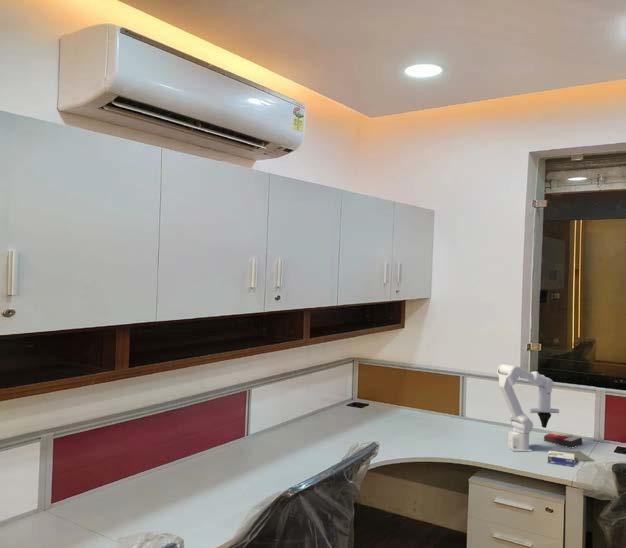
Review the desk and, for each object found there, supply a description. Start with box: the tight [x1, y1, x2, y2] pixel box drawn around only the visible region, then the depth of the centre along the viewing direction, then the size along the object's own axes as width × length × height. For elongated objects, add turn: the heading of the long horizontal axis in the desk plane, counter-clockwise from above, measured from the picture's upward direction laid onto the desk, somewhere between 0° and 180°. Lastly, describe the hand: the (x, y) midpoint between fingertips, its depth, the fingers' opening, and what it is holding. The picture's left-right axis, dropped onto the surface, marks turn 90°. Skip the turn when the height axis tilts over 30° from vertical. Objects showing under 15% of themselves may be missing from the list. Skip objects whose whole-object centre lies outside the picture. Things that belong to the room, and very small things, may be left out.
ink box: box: [546, 450, 576, 467], centre depth 263 cm, size 12×2×12 cm
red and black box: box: [543, 431, 583, 449], centre depth 292 cm, size 11×4×15 cm
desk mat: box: [557, 450, 595, 462], centre depth 269 cm, size 11×14×1 cm
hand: (544, 427), depth 286 cm, fingers closed
